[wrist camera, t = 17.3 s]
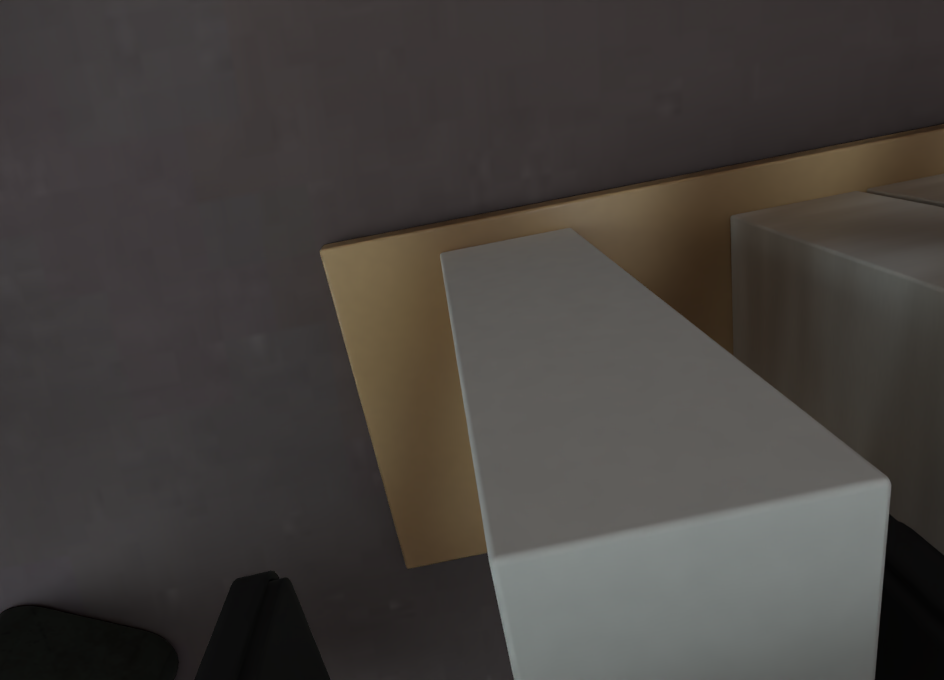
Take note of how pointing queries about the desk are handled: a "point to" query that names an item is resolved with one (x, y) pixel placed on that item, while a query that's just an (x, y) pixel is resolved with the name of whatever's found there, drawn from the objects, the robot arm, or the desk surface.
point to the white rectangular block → (652, 485)
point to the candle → (79, 648)
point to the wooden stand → (688, 314)
